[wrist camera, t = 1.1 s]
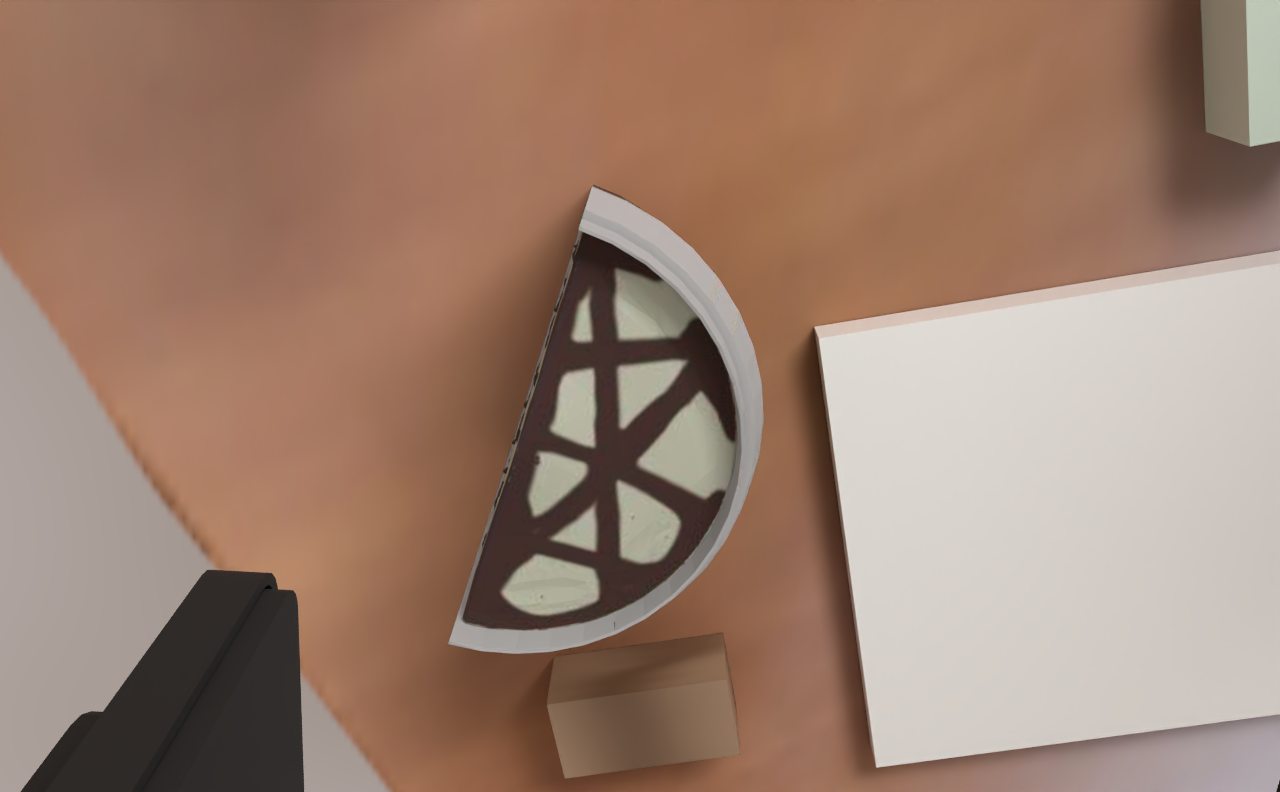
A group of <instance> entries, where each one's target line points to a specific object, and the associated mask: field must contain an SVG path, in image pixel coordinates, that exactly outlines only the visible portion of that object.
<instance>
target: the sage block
mask: <svg viewBox="0 0 1280 792" xmlns="http://www.w3.org/2000/svg"><path fill="white" fill-rule="evenodd" d="M1201 21H1202V46H1203V72H1204V98H1205V123H1206V132H1207V133H1210V134H1213V135H1216V136H1219V137H1222V138H1225V139H1228V140H1231V141H1234V142H1237V143H1240V144H1243V145H1246V146H1249V147H1251V146H1256V145H1261V144H1267V143H1272V142H1277V141H1280V0H1201Z"/></svg>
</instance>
